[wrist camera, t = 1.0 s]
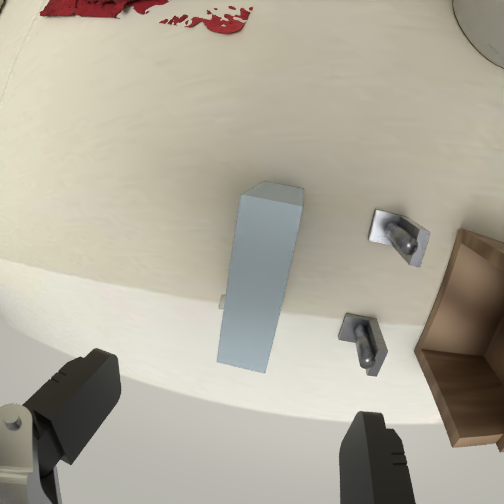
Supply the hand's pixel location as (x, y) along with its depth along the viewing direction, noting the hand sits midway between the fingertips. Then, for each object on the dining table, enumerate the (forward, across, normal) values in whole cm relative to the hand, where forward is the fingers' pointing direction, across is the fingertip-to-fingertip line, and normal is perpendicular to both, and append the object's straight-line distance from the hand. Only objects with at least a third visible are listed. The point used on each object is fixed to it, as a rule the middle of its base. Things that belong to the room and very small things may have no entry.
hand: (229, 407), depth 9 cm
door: (+17, 0, -1) cm, 17 cm away
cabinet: (+17, -19, +1) cm, 25 cm away
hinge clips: (+17, -9, 0) cm, 19 cm away
